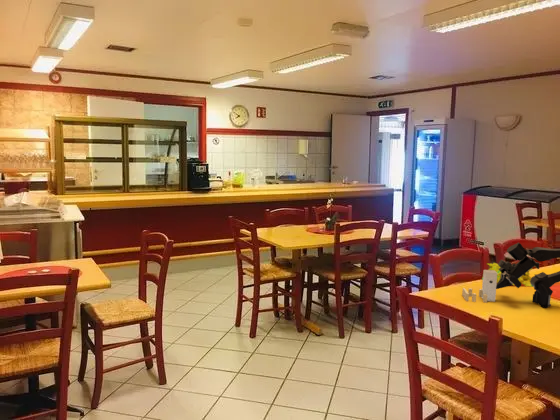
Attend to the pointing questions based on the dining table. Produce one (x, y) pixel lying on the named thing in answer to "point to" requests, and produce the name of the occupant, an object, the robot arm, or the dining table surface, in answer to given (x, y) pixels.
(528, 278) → the decorative piece
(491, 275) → the pillar on grey plate
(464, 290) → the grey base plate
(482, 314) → the dining table surface
